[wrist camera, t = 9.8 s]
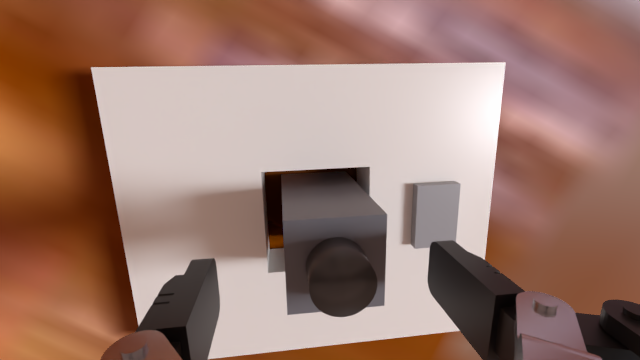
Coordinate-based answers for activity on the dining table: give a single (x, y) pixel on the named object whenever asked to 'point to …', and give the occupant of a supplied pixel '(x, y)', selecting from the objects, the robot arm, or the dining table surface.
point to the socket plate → (297, 154)
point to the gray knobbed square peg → (332, 245)
